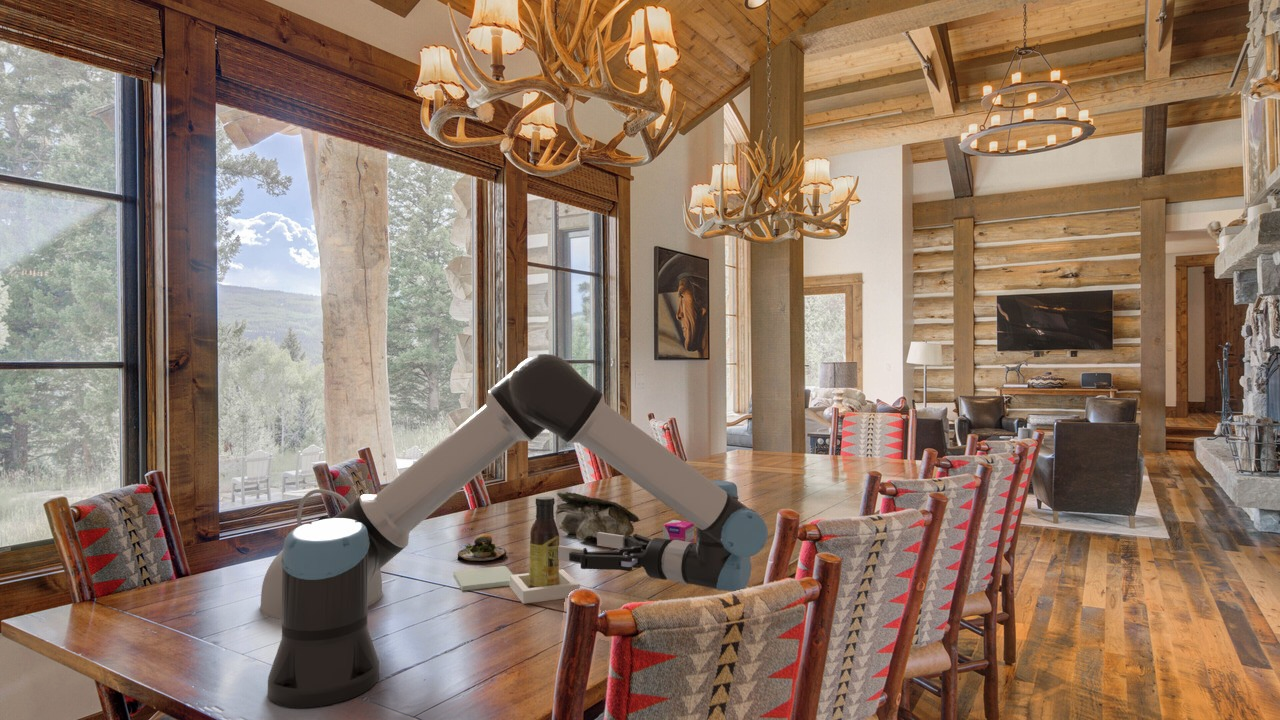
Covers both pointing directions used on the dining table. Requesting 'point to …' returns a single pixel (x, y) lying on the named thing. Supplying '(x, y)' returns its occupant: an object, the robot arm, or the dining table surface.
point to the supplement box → (679, 531)
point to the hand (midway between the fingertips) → (579, 545)
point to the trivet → (483, 578)
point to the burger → (482, 549)
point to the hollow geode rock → (593, 516)
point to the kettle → (274, 574)
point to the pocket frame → (542, 588)
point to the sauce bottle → (544, 546)
